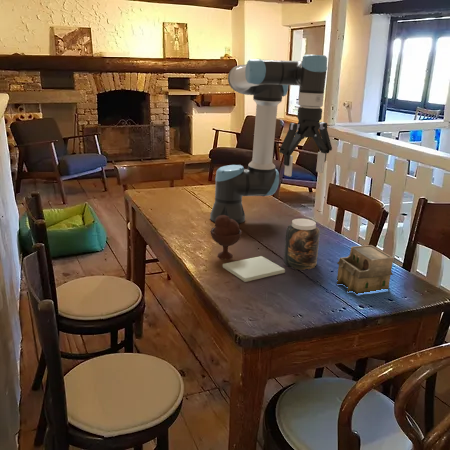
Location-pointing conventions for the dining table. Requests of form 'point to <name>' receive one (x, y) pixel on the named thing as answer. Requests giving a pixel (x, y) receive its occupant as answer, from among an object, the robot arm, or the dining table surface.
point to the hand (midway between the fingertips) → (304, 174)
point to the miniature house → (365, 269)
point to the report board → (253, 268)
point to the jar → (301, 244)
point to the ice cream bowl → (225, 234)
